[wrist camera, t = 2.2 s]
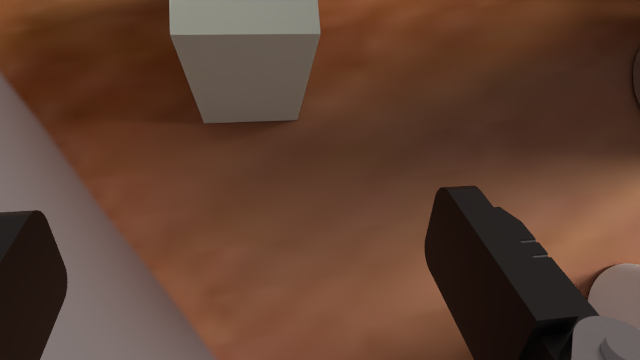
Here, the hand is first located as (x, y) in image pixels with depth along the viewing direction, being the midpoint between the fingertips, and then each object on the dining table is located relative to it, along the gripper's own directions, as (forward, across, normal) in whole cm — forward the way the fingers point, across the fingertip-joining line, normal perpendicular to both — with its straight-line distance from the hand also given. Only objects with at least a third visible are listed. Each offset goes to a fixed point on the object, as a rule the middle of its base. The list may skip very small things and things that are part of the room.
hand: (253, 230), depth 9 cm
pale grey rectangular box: (+19, 0, +2) cm, 19 cm away
